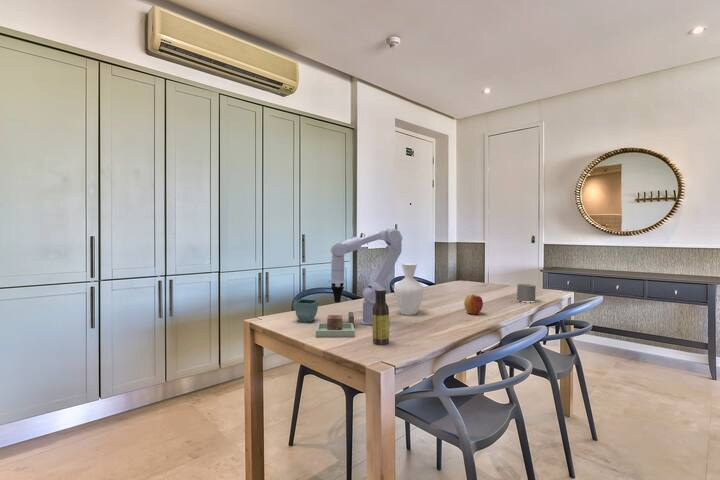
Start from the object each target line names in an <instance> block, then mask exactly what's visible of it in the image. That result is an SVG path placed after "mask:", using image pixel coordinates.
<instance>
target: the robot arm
mask: <svg viewBox="0 0 720 480" xmlns="http://www.w3.org/2000/svg"><path fill="white" fill-rule="evenodd" d="M379 240H381V241H384V242H385V244H386V245H387V247H388V248H387V249H388V253H387V254H386V255H385V258H384V260H383V261H382V263H381V264H380V266H379V268H378V269H377V272H376V274H375V275H374V277H373V279H372V281H370V282H369V284H368V285H367V286H366V287H364V288H363V290H362V292H361V296H362V298H363V301H362V319H360V321H361V324H362V325H368V326H369V325H373V319H372V314H373V306H374V304H375V302H376V301H375V300H376V294H375V290H376V289H383V286H384V284H385V282H386V280H387V279H388V276H389V275H390V274H391V271H392V270H393V268H394V266H395V264H396V263H397V261H398V259H399V257H400V255H401V254H402V251H403V250H402V242H403V236H402V234H401V231H399V230H398V229H397V228H387V229H382V230H377V231H374V232H373V233H369V234H367V235H365V236H362V237H357V236H354V235H353V236H350V238H348V239H345V240H340V242H335V243H334V244H333V245H332V246H330V247H331V248H330V252H331V266H330V268H331V269H330V270H331V272H330V274H331V275H330V279H328V283H329V282H330V284H331V286H330V288H331V290H332V293H333V300H334V303H340V302H341V299H342V293H343V291H344V289H345V286H344V284H345V282H346V281H345V255H346V254H349V253H351V252H355V251H357V250H360V249H361V247H362V246H363V245H366V244H369V243H372V242H375V241H379Z"/></svg>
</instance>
